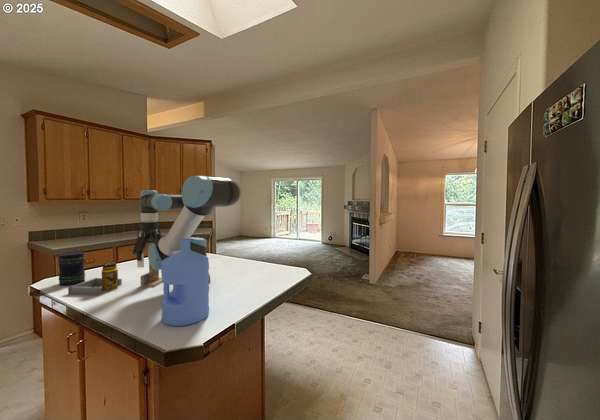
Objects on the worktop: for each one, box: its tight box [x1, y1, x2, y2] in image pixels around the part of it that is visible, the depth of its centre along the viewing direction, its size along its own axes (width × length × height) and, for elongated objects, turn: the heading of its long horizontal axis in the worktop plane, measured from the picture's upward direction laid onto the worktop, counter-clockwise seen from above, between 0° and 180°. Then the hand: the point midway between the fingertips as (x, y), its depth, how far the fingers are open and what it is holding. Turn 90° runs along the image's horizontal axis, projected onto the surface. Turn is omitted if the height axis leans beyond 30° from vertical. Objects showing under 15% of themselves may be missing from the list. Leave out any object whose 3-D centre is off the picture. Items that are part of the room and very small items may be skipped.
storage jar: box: [57, 250, 86, 287], centre depth 129 cm, size 10×10×15 cm
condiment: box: [100, 262, 122, 293], centre depth 121 cm, size 7×8×12 cm
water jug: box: [160, 239, 210, 327], centre depth 93 cm, size 16×16×28 cm
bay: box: [67, 277, 123, 296], centre depth 120 cm, size 14×14×3 cm
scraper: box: [140, 262, 163, 288], centre depth 130 cm, size 7×10×15 cm
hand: (150, 263), depth 130 cm, fingers open, 13 cm apart
